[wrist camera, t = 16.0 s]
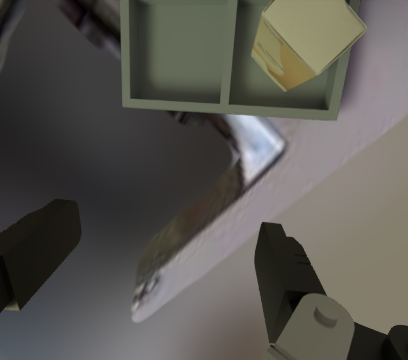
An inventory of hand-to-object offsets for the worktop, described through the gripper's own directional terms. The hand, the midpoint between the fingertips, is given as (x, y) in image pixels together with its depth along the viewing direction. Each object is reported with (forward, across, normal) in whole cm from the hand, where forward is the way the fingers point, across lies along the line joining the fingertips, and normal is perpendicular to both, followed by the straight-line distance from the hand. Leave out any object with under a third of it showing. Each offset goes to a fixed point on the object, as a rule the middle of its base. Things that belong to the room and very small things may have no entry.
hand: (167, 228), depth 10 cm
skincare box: (+23, -9, -9) cm, 26 cm away
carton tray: (+24, -2, -9) cm, 26 cm away
